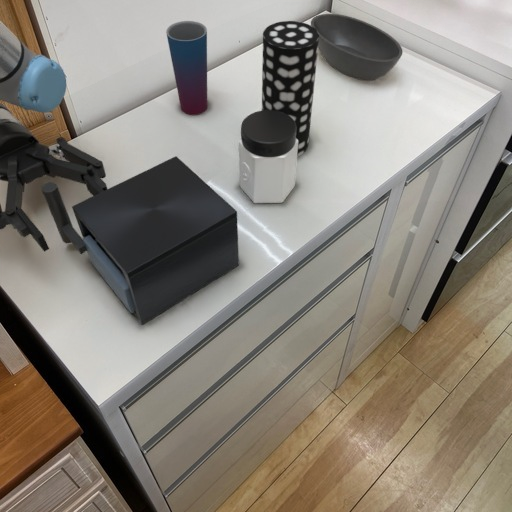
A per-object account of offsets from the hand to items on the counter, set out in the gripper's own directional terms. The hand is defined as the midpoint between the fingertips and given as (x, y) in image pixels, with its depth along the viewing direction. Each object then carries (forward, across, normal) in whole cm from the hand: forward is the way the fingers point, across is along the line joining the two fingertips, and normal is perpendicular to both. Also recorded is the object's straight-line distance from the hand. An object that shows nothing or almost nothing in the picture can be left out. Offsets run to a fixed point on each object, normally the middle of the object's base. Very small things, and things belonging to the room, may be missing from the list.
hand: (78, 224), depth 71 cm
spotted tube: (-2, -39, -8) cm, 40 cm away
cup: (-21, -34, -8) cm, 40 cm away
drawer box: (+7, -8, -8) cm, 13 cm away
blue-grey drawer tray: (+4, -6, -6) cm, 9 cm away
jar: (+5, -29, -8) cm, 31 cm away
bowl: (-12, -67, -8) cm, 69 cm away
